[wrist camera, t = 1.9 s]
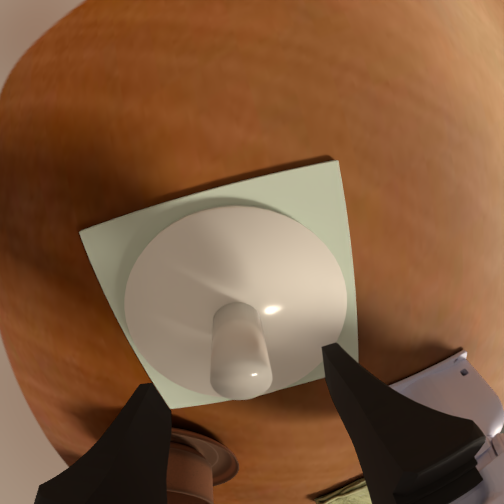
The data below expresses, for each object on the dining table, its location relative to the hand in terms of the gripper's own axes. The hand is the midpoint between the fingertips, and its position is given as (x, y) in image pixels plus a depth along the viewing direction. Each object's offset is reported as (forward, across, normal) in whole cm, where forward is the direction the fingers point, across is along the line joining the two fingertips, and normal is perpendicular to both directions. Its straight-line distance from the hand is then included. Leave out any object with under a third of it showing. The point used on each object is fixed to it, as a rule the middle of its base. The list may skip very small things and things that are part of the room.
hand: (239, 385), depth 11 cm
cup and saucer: (+6, +10, +14) cm, 18 cm away
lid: (+6, 0, 0) cm, 6 cm away
